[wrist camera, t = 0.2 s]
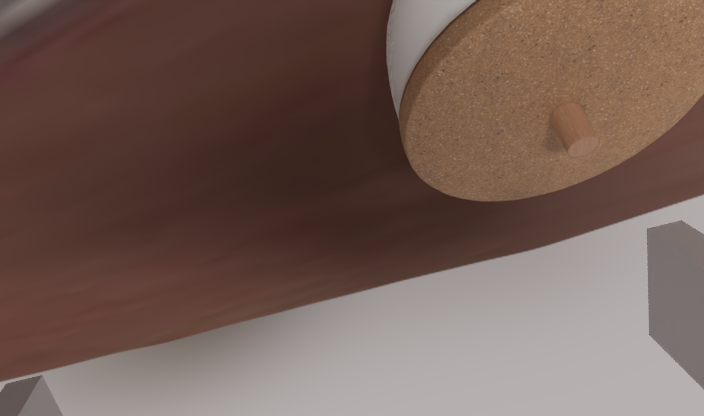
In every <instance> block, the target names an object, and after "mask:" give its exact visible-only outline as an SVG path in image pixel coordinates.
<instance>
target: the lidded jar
mask: <svg viewBox="0 0 704 416" xmlns="http://www.w3.org/2000/svg"><path fill="white" fill-rule="evenodd" d="M386 61H387V68H388V75H389V82H390V88H391V95H392V98H393V102H394V106H395V110H396V114H397V117H398V120H399V128H400V134H401V140H402V144H403V147H404V150H405V153H406V156H407V158H408V160H409V162H410V165H411V167H412V168H413V170H414V171H415V172H416V173H417V175H418V176H419V177H420V178H421V179H422V180H423V181H425V182H426V183H427V184H429V185H430V186H431V187H433V188H435V189H437V190H439V191H441V192H443V193H445V194H447V195H450V196H454V197H458V198H462V199H468V200H475V201H508V200H518V199H523V198H529V197H534V196H539V195H543V194H547V193H550V192H554V191H558V190H561V189H563V188H566V187H569V186H572V185H575V184H577V183H580V182H582V181H585V180H587V179H590V178H592V177H594V176H597V175H599V174H601V173H603V172H605V171H607V170H609V169H610V168H612V167H614V166H616V165H618V164H620V163H621V162H623V161H625V160H627V159H628V158H630V157H632V156H633V155H635V154H637V153H638V152H640V151H641V150H642V149H644V148H645V147H647V146H648V145H650V144H651V143H652V142H654V141H655V140H656V139H658V138H659V137H660V136H661V135H663V134H664V133H665V132H666V131H668V130H669V129H670V128H671V127H673V126H674V125H675V124H676V123H677V122H678V121H679V120H680V119H681V118H682V117H683V116H684V115H685V114H686V113H687V112H688V111H689V110H690V109H691V108H692V106H693V105H694V104H695V103H696V102H697V101H698V100H699V98H700V97H701V96H702V95H703V94H704V0H393V2H392V6H391V11H390V15H389V20H388V24H387V39H386Z"/></svg>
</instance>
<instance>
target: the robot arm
mask: <svg viewBox="0 0 704 416" xmlns="http://www.w3.org/2000/svg"><path fill="white" fill-rule="evenodd" d="M647 246H648V247H647V250H648V296H649V297H648V299H649V335H650V336H651V337H652V338H653V339H654V340H655V341H656V342H657V343H658V344H659V345H660V346H661V347H662V348H663V349H664V350H665V351H666V352H667V353H668V354H669V355H670V356H671V357H672V358H673V359H674V360H675V361H676V362H677V363H678V364H679V365H680V366H681V367H682V368H683V369H684V370H685V371H686V372H687V373H688V374H689V375H690V376H691V377H692V378H693V379H694V380H695V381H696V382H697V383H698V384H699V385H700V386H701V387H702V388H703V389H704V234H702V233H701V232H699V231H697V230H696V229H694V228H692V227H691V226H690V225H688V224H686V223H685V222H683V221H677V222H673V223H669V224H665V225H661V226H657V227H653V228H649V229H647ZM0 416H63V415H62V413H61V411H60V409H59V407H58V405H57V403H56V401H55V399H54V398H53V395H52V394H51V392H50V390H49V388H48V386H47V384H46V382H45V380H44V378H43V376H42V375H41V376H37V377H32V378H28V379H25V380H20V381H16V382H12V383H8V384H6V385H5V386H4V388H3V389H2V391H1V392H0Z"/></svg>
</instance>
